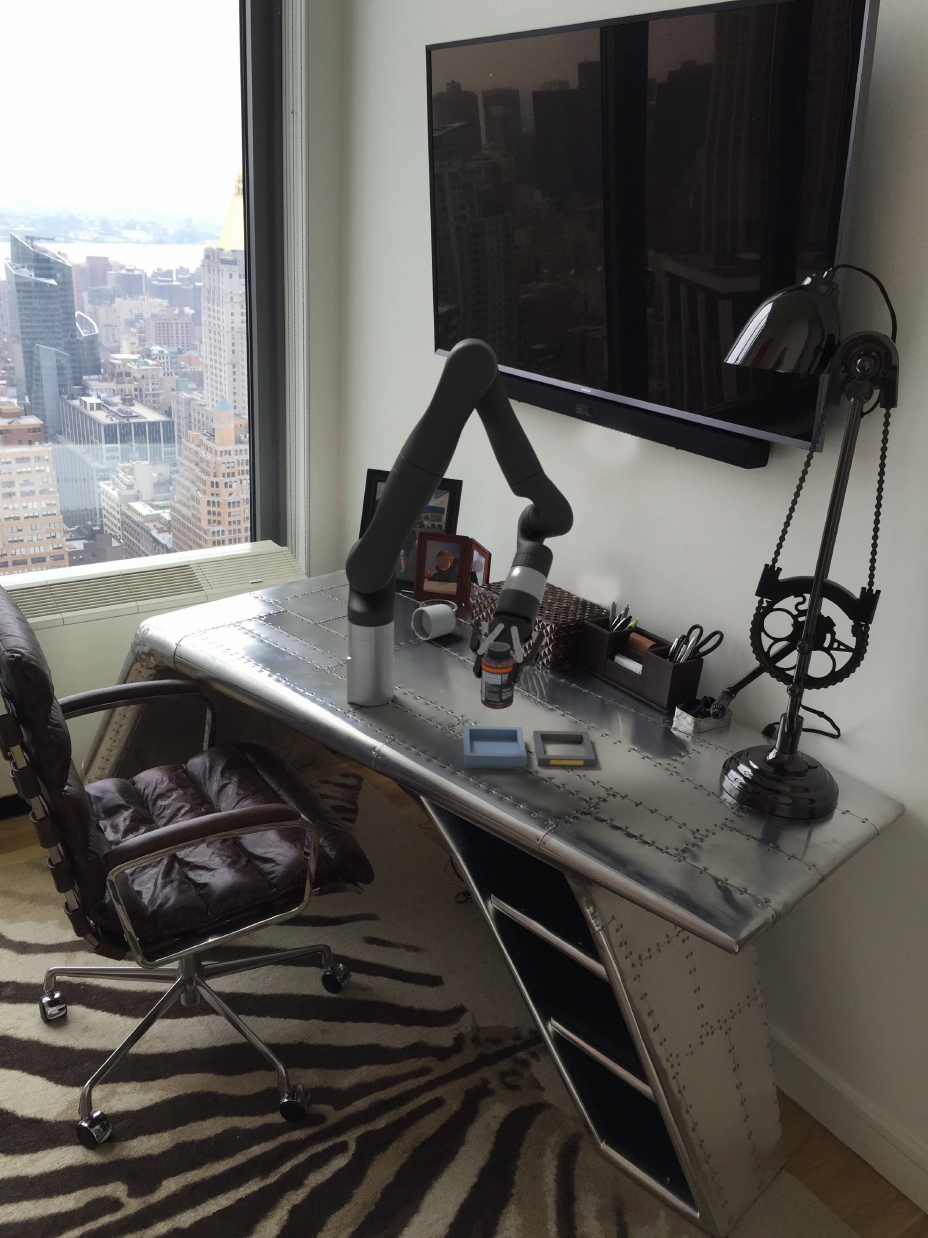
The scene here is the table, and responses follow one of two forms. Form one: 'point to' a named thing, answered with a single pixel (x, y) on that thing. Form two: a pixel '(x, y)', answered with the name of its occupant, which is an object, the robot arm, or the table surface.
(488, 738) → the tray
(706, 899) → the table surface
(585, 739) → the frame
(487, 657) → the supplement bottle
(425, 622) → the ceramic mug
